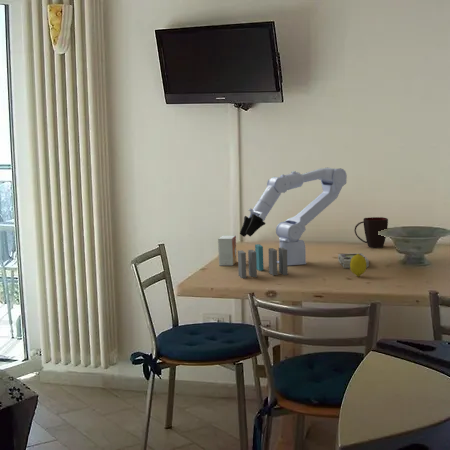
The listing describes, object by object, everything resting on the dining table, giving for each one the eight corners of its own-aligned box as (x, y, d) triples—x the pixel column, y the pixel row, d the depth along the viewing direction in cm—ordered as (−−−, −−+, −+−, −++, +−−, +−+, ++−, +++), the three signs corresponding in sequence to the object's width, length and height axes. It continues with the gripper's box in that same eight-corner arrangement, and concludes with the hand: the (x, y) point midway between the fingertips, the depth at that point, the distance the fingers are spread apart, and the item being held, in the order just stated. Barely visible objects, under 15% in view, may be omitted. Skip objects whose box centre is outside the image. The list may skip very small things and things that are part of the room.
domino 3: (273, 272, 246) (272, 248, 245) (277, 275, 241) (276, 250, 240) (269, 273, 246) (268, 248, 244) (273, 276, 241) (272, 250, 240)
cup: (390, 248, 286) (390, 220, 284) (356, 249, 286) (356, 221, 284) (384, 244, 296) (384, 216, 294) (352, 245, 296) (352, 218, 294)
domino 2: (253, 274, 244) (252, 249, 243) (256, 277, 240) (256, 252, 238) (248, 274, 244) (248, 249, 243) (252, 277, 239) (251, 252, 238)
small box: (233, 265, 261) (232, 238, 259) (218, 265, 262) (217, 238, 261) (236, 261, 269) (236, 235, 267) (222, 261, 270) (222, 235, 268)
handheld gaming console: (344, 260, 249) (337, 252, 263) (344, 269, 249) (338, 261, 264) (369, 259, 248) (362, 252, 263) (369, 269, 249) (362, 261, 264)
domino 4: (283, 272, 247) (282, 247, 246) (287, 274, 242) (287, 249, 241) (279, 272, 247) (278, 247, 245) (283, 275, 242) (282, 250, 240)
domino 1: (242, 275, 244) (242, 250, 242) (246, 278, 239) (245, 252, 238) (238, 275, 243) (237, 250, 242) (241, 278, 239) (241, 253, 237)
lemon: (357, 279, 232) (356, 255, 231) (346, 276, 237) (346, 253, 236) (369, 277, 234) (369, 254, 233) (359, 274, 239) (359, 251, 238)
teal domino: (259, 268, 255) (259, 244, 254) (263, 270, 250) (262, 246, 249) (255, 268, 255) (255, 244, 254) (259, 271, 250) (258, 246, 249)
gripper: (250, 199, 260) (230, 229, 257) (262, 197, 246) (241, 228, 243) (265, 210, 261) (245, 240, 259) (277, 208, 247) (257, 239, 245)
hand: (244, 235), depth 251 cm, fingers open, 7 cm apart
